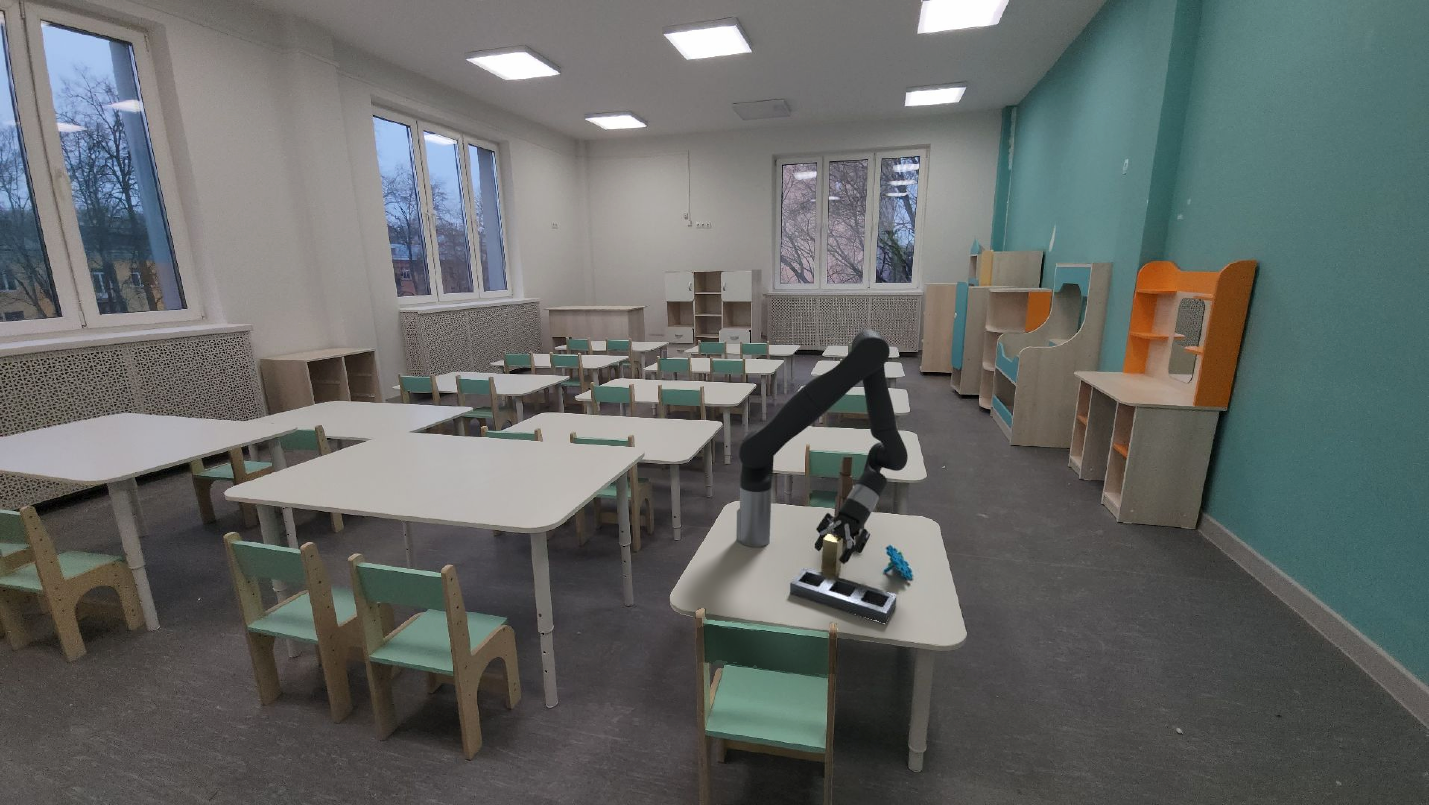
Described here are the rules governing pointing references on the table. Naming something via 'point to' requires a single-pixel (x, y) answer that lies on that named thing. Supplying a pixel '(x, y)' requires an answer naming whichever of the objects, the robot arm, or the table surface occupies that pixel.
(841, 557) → the robot arm
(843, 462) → the wooden toy
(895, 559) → the gear
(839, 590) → the grey flat frame block
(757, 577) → the table surface
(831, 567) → the brass post
